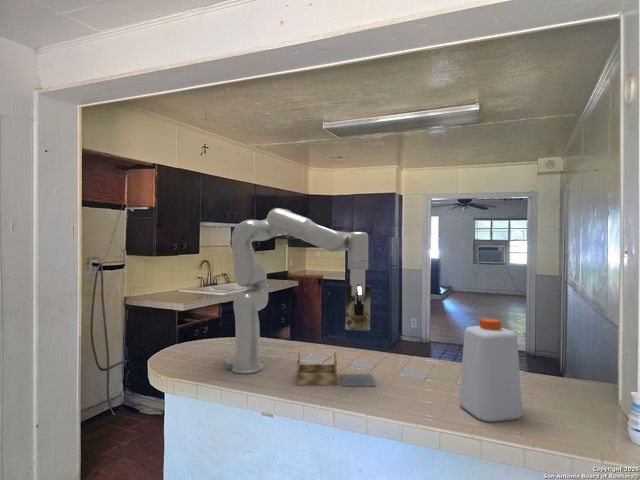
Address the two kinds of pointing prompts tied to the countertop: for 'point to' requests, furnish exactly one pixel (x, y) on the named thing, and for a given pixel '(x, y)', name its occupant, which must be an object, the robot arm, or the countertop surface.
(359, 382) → the mat
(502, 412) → the plastic bottle
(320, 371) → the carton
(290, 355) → the countertop surface
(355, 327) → the coffee box
